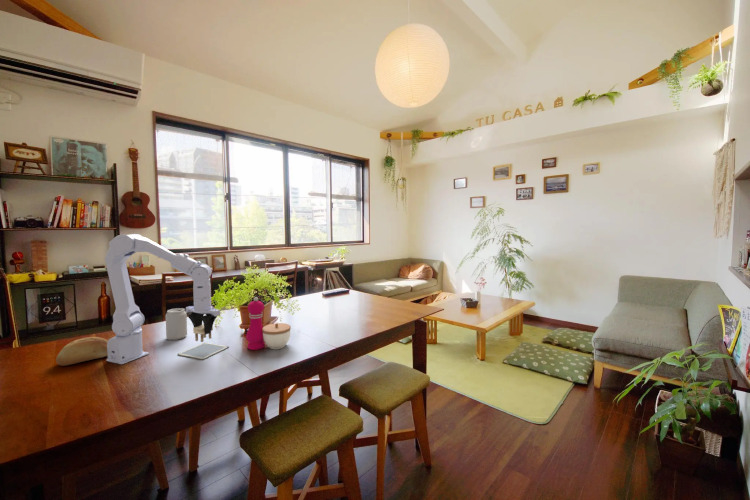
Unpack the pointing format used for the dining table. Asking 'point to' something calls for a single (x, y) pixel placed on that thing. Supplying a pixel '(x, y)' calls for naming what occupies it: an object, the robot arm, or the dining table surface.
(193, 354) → the mat
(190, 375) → the dining table surface
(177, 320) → the can
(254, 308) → the pepper mill
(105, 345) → the bread roll
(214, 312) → the robot arm
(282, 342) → the lidded jar
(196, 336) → the small wooden stool
